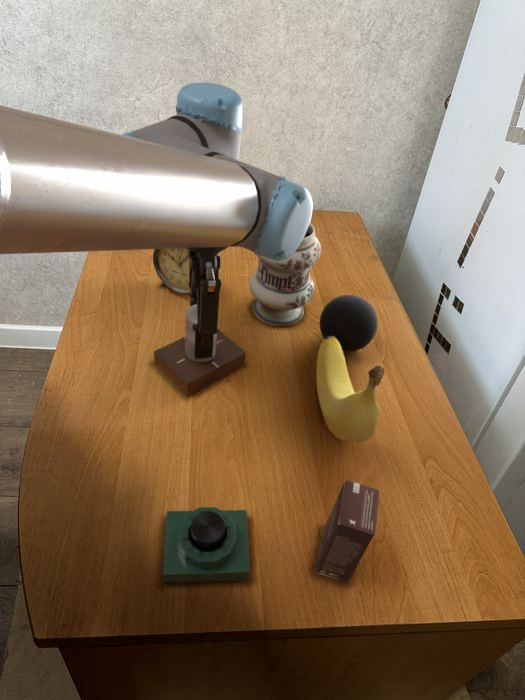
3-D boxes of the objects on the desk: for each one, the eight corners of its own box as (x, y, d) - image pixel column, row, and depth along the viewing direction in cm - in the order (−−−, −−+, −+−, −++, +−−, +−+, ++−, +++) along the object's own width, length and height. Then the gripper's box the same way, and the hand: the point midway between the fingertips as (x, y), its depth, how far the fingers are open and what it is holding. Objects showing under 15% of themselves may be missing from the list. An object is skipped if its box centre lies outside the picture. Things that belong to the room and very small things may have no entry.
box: (350, 583, 64) (376, 535, 56) (314, 573, 65) (334, 523, 56) (356, 539, 68) (380, 488, 60) (322, 529, 69) (342, 477, 61)
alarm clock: (152, 287, 102) (149, 211, 91) (167, 274, 106) (166, 199, 95) (201, 307, 99) (204, 231, 88) (215, 292, 103) (220, 218, 92)
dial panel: (187, 397, 83) (187, 383, 81) (153, 363, 87) (153, 350, 85) (245, 365, 89) (246, 351, 87) (211, 335, 94) (211, 322, 92)
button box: (163, 582, 62) (162, 567, 59) (167, 519, 68) (166, 503, 65) (248, 580, 63) (251, 565, 60) (244, 518, 69) (247, 502, 66)
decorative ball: (323, 319, 101) (334, 276, 94) (374, 336, 99) (389, 293, 92) (308, 352, 94) (318, 307, 87) (362, 370, 92) (377, 327, 85)
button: (190, 551, 61) (190, 542, 60) (190, 519, 64) (191, 510, 63) (224, 550, 62) (225, 542, 60) (223, 519, 65) (224, 510, 63)
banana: (306, 362, 92) (328, 266, 78) (339, 363, 92) (367, 268, 79) (327, 475, 75) (360, 378, 62) (366, 475, 76) (408, 379, 62)
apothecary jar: (262, 283, 107) (273, 202, 95) (317, 304, 104) (336, 222, 92) (235, 316, 99) (243, 231, 86) (294, 339, 96) (311, 254, 84)
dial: (218, 360, 85) (221, 321, 80) (187, 363, 84) (187, 323, 78) (213, 340, 89) (215, 301, 83) (183, 342, 87) (183, 302, 82)
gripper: (248, 251, 64) (234, 382, 80) (222, 182, 77) (214, 307, 92) (185, 253, 62) (184, 387, 78) (169, 182, 75) (171, 310, 91)
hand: (200, 343), depth 85 cm, fingers closed on dial, 5 cm apart
